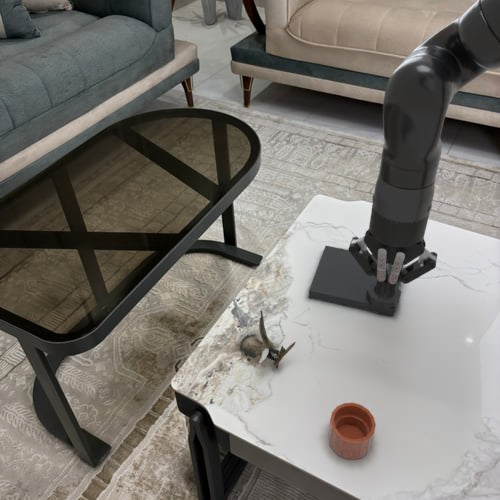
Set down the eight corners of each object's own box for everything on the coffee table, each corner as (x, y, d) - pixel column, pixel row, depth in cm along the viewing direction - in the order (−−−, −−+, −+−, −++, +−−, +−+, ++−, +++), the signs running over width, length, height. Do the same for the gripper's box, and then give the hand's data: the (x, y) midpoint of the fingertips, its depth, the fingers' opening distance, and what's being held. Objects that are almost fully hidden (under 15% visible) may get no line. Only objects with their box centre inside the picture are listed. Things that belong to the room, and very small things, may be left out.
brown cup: (374, 428, 75) (378, 409, 72) (367, 466, 70) (371, 448, 67) (333, 416, 77) (335, 397, 73) (324, 452, 72) (326, 434, 69)
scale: (404, 267, 101) (407, 254, 99) (395, 318, 91) (398, 305, 89) (325, 252, 106) (326, 239, 104) (307, 299, 96) (308, 286, 93)
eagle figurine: (302, 346, 85) (267, 311, 90) (291, 340, 79) (254, 303, 83) (272, 379, 85) (238, 343, 90) (258, 375, 79) (223, 336, 83)
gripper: (455, 197, 68) (430, 288, 79) (358, 181, 72) (347, 270, 83) (451, 229, 62) (425, 322, 73) (346, 210, 66) (336, 301, 77)
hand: (384, 295), depth 78 cm, fingers closed
